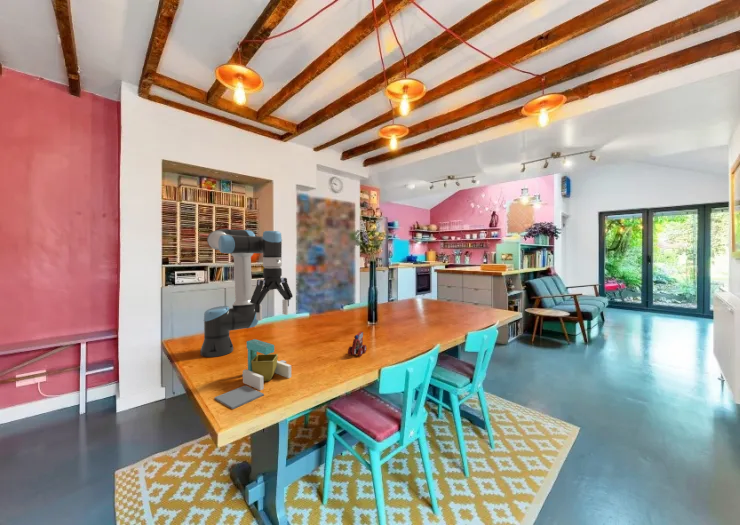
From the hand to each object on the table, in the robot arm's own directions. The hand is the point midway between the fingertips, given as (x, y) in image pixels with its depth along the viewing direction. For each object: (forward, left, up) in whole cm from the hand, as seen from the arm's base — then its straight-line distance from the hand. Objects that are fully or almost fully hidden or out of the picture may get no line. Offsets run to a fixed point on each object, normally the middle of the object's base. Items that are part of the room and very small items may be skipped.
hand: (272, 317), depth 128 cm
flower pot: (+1, -5, -25) cm, 26 cm away
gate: (-2, -5, -24) cm, 25 cm away
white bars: (0, 0, -25) cm, 25 cm away
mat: (+7, -20, -25) cm, 32 cm away
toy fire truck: (+13, +42, -25) cm, 51 cm away
